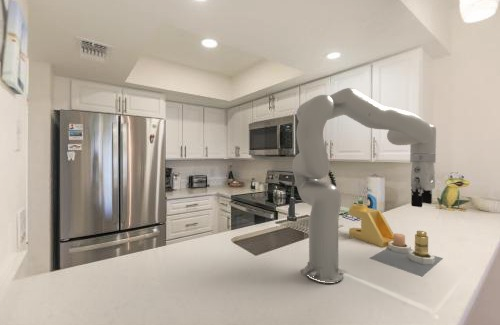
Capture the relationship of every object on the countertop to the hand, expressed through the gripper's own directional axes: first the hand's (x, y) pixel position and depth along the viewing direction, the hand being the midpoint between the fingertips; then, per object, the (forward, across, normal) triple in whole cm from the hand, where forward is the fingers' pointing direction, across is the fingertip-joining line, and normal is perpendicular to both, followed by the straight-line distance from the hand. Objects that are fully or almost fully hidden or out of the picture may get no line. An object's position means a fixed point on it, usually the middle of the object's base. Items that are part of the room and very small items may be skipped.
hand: (421, 204), depth 86 cm
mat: (+22, -3, +4) cm, 23 cm away
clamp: (+22, +7, +23) cm, 33 cm away
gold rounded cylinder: (+21, 0, 0) cm, 21 cm away
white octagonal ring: (+21, 0, 0) cm, 21 cm away
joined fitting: (+21, +4, +9) cm, 23 cm away
